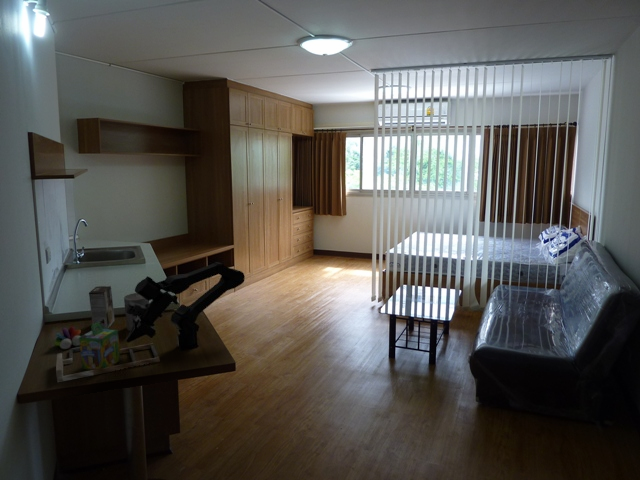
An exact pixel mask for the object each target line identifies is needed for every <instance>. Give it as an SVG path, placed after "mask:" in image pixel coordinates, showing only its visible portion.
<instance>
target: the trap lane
mask: <svg viewBox="0 0 640 480" xmlns="http://www.w3.org/2000/svg"><path fill="white" fill-rule="evenodd" d="M149 349H150V350H151V352H152V354H153V357H150V358H146V359H145V358H144V359H141V360H136V356H135V353H134V352H138V351H144V350H149ZM68 350H69V351H68V352H69V353H68V354H69V355H68V356H69V357H68V358H66V359H63V353H62V352H60V353H56V366H55V367H56V368H55V372H56V373H55V375H56V380H57V383H62V382H66V381H72V380H76V379H80V378H86V377H90V376H91V377H92V376H95V375H100V374H105V373H110V372H111V373H112V372H115V370H116V371H120V369H121V370H125V369H124V368H126V369H129V368H128V367H131V368H135V367H134V366H136V367H139V365H140V366H144V364H145V365H149V363H150V364H154V363H159V362H160V361H161V360H160V356H159V354H158V352H157V350H156V348H155V345H154V343H153V342H150V343H146V344H140V345H136V346H135V345H134V346H130V347H123V348H120V355H123V354H128V353H129V356H130V359H131V362H126V363H121V364H114V365H113V366H110V367H105V368H100V369H95V370H85V371H81V372H76V373H72V374H71V373H70V374H65V375H64V365H69V364H70V365H71V364H73V363H74V356H73V355H74V353H77V352H81V350H80V346H75V347H72V348H71V347H70V348H68ZM122 353H123V354H122Z"/></svg>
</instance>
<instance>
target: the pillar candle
mask: <svg viewBox="0 0 640 480" xmlns="http://www.w3.org/2000/svg"><path fill="white" fill-rule="evenodd" d="M123 302H124V312H125V320H126V321H125V322H126V323H125V324H126V329H127V331H128V332H130V331H131V329H132V327H133V319H134V320H135V319H136V318H137V317H136V316H133V315H132V314H128V313H126V308H127V305H128V303H129V302H133V303H137V304H140V305H143V306H144V305H145V304H146V303H150V301H148V300H146V299H145V298H143V297H142V296H141V295H139V294H138V293H136V292H134V293H133V292H132V293H129V294H126V295H125V296H124V297H123Z"/></svg>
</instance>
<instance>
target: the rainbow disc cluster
mask: <svg viewBox="0 0 640 480" xmlns="http://www.w3.org/2000/svg"><path fill="white" fill-rule="evenodd" d="M61 331H62V333H61V334H60V333H59V332H57V333H56V334H55V335H56V337H55V338H54V345H55V346H59V347H60V348H61V349H62V350H69V349H71V347H72V346H74V347H80V342H79V337H81V336H82V335H80V334H82V332H81V331H82V330H81V329H75V326H70V327H69V328H68V329H67V328H66V327H63V328H62V330H61ZM62 334H63V335H62Z"/></svg>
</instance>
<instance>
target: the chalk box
mask: <svg viewBox="0 0 640 480" xmlns="http://www.w3.org/2000/svg"><path fill="white" fill-rule="evenodd" d="M95 327H99V329H95ZM90 329H91V330H90V331H88V332H86V333H84V334H82V335H80V336H81V337H79V342H80V345H79V347H80V350H81V351H80V356H81V365H82V370H87V371H90V370H95V369H100V368H105V367H110V366H115V365H117V363H119V362H121V361H122V360H121V354H120V349H121V348H120V339H119V337H120V336H119V331H118V329H111V328H110V329H109V328H108V329H102V327H101V324H100V322H98V323H96V324H94V325H91V326H90Z"/></svg>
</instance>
